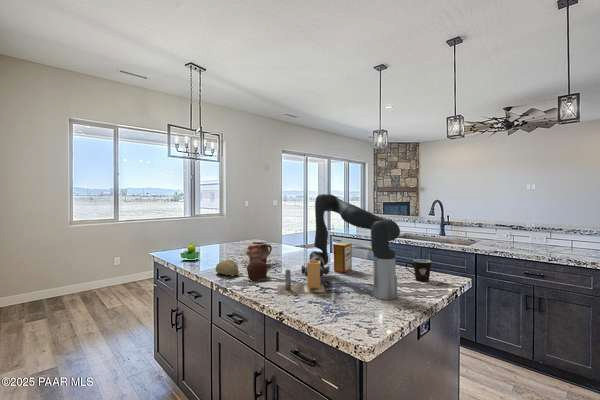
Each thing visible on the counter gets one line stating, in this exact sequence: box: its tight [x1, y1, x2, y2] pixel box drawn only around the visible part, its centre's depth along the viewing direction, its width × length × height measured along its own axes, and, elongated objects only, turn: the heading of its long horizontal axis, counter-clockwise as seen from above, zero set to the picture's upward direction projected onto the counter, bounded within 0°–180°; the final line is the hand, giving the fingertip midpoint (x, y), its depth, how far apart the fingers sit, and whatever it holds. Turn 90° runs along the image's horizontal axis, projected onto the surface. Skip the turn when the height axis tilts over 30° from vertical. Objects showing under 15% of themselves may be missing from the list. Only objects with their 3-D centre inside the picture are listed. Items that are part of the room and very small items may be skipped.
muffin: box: [246, 260, 269, 281], centre depth 160 cm, size 12×11×10 cm
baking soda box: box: [333, 242, 353, 274], centre depth 177 cm, size 10×6×16 cm
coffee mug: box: [405, 258, 432, 283], centre depth 158 cm, size 12×9×10 cm
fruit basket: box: [179, 242, 201, 259], centre depth 210 cm, size 11×9×11 cm
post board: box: [276, 268, 328, 296], centre depth 139 cm, size 22×14×10 cm, turn 92°
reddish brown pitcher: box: [245, 241, 273, 264], centre depth 195 cm, size 20×12×14 cm, turn 141°
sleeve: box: [306, 259, 322, 288], centre depth 140 cm, size 6×6×11 cm
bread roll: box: [214, 259, 239, 276], centre depth 172 cm, size 10×15×8 cm, turn 59°
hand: (313, 274), depth 137 cm, fingers closed on sleeve, 5 cm apart
